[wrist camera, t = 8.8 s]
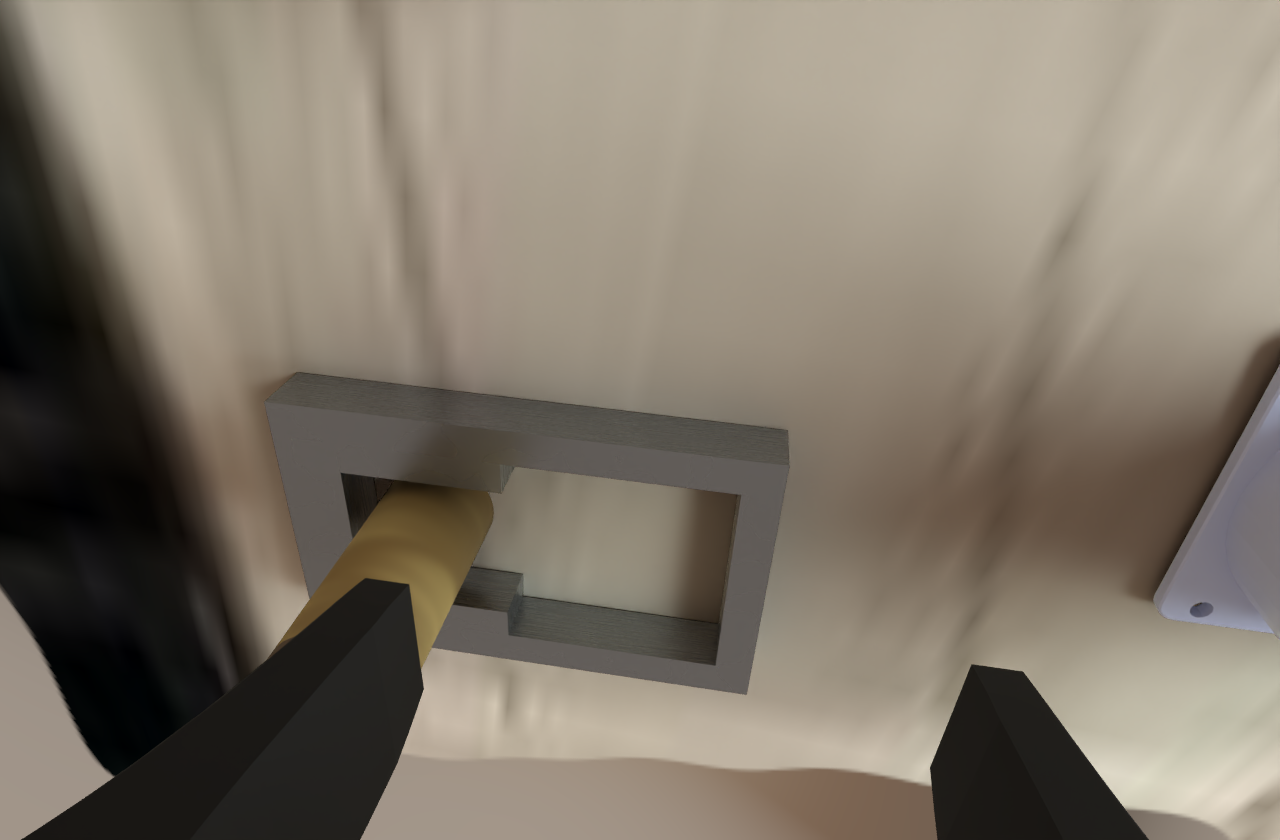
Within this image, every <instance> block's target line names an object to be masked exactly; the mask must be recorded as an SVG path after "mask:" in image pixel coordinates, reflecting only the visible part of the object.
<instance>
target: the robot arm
mask: <svg viewBox="0 0 1280 840" xmlns="http://www.w3.org/2000/svg"><path fill="white" fill-rule="evenodd" d="M1153 602H1154V604H1155V607H1156V608H1157V610H1158V612H1159V613H1160V614H1161V615H1162V616H1163V617H1164V618H1167V619H1171V620H1177V621H1184V622H1192V623H1199V624H1207V625H1214V626H1221V627H1229V628H1236V629H1244V630H1251V631H1259V632H1266V633H1273V634H1275V635H1276V636H1277V638H1278V639H1279V640H1280V365H1279V367H1278V369H1277V371H1276V372H1275V374H1274V376H1273V378H1272V380H1271V382H1270V384H1269V385H1268V387H1267V389H1266V391H1265V393H1264V395H1263V396H1262V398H1261V400H1260V402H1259V404H1258V406H1257V407H1256V409H1255V411H1254V413H1253V415H1252V417H1251V418H1250V420H1249V422H1248V424H1247V426H1246V428H1245V429H1244V431H1243V433H1242V435H1241V437H1240V439H1239V440H1238V442H1237V444H1236V446H1235V448H1234V450H1233V452H1232V453H1231V455H1230V457H1229V459H1228V461H1227V463H1226V464H1225V466H1224V468H1223V470H1222V472H1221V474H1220V475H1219V477H1218V479H1217V481H1216V483H1215V485H1214V486H1213V488H1212V490H1211V492H1210V494H1209V496H1208V497H1207V499H1206V501H1205V503H1204V505H1203V507H1202V508H1201V510H1200V512H1199V514H1198V516H1197V518H1196V520H1195V521H1194V523H1193V525H1192V527H1191V529H1190V531H1189V532H1188V534H1187V536H1186V538H1185V540H1184V542H1183V543H1182V545H1181V547H1180V549H1179V551H1178V553H1177V554H1176V556H1175V558H1174V560H1173V562H1172V564H1171V565H1170V567H1169V569H1168V571H1167V573H1166V575H1165V576H1164V578H1163V580H1162V582H1161V584H1160V586H1159V588H1158V589H1157V591H1156V593H1155V595H1154V599H1153ZM1201 602H1203V603H1202V604H1200V605H1198V606H1193V605H1195V604H1198V603H1201ZM423 690H424V687H423V680H422V673H421V665H420V658H419V651H418V644H417V636H416V629H415V622H414V615H413V607H412V600H411V593H410V586H409V584H405V583H398V582H391V581H384V580H377V579H370V578H365V579H363V580H362V581H361V582H359V583H358V584H357V585H355V586H354V587H353V588H352V589H351V590H349V591H348V592H347V593H346V594H345V595H343V596H342V597H341V598H340V599H339V600H337V601H336V602H335V603H334V604H333V605H332V606H330V607H329V608H328V609H327V610H326V611H325V612H323V613H322V614H321V615H320V616H319V617H317V618H316V619H315V620H314V621H313V622H312V623H310V624H309V625H308V626H307V627H306V628H305V629H303V630H302V631H301V632H300V633H299V634H297V635H296V636H295V637H294V638H293V639H292V640H290V641H289V642H288V643H287V644H286V645H284V646H283V647H282V648H281V649H280V650H278V651H277V652H276V653H275V654H274V655H272V656H271V657H270V658H269V659H268V660H266V661H265V662H264V663H263V664H261V665H260V666H259V667H258V668H257V669H255V670H254V671H253V672H252V673H250V674H249V675H248V676H247V677H245V678H244V679H243V680H242V681H241V682H239V683H238V684H237V685H236V686H234V687H233V688H232V689H231V690H229V691H228V692H227V693H226V694H224V695H223V696H222V697H221V698H220V699H218V700H217V701H216V702H214V703H213V704H212V705H211V706H209V707H208V708H207V709H206V710H204V711H203V712H202V713H200V714H199V715H198V716H196V717H195V718H194V719H192V720H191V721H190V722H188V723H187V724H186V725H184V726H183V727H182V728H180V729H179V730H178V731H176V732H175V733H174V734H172V735H171V736H170V737H168V738H167V739H166V740H164V741H163V742H162V743H160V744H159V745H158V746H156V747H155V748H154V749H152V750H151V751H150V752H148V753H147V754H146V755H144V756H143V757H142V758H141V759H139V760H138V761H136V762H135V763H134V764H132V765H131V766H129V767H128V768H127V769H125V770H124V771H122V772H121V773H120V774H118V775H117V776H115V777H114V778H113V779H111V780H110V781H108V782H107V783H105V784H104V785H103V786H101V787H100V788H98V789H97V790H95V791H94V792H93V793H91V794H90V795H88V796H87V797H85V798H84V799H82V800H81V801H79V802H78V803H76V804H75V805H73V806H72V807H70V808H69V809H67V810H66V811H64V812H63V813H61V814H60V815H58V816H57V817H55V818H54V819H52V820H51V821H49V822H48V823H46V824H45V825H43V826H42V827H40V828H39V829H37V830H36V831H34V832H32V833H31V834H29V835H28V836H26V837H25V838H23V839H21V840H360V839H361V836H362V835H363V833H364V831H365V829H366V827H367V825H368V823H369V821H370V819H371V817H372V815H373V813H374V811H375V808H376V806H377V804H378V802H379V800H380V798H381V796H382V794H383V792H384V790H385V788H386V786H387V784H388V782H389V780H390V777H391V775H392V773H393V771H394V769H395V767H396V765H397V763H398V760H399V757H400V755H401V752H402V749H403V746H404V744H405V741H406V738H407V736H408V733H409V730H410V727H411V725H412V722H413V719H414V716H415V713H416V710H417V707H418V704H419V701H420V699H421V696H422V693H423ZM930 772H931V782H932V791H933V803H934V812H935V821H936V830H937V838H938V840H1149V839H1148V838H1147V837H1146V835H1145V834H1144V833H1143V832H1142V830H1141V829H1140V828H1139V826H1138V825H1137V824H1136V823H1135V822H1134V820H1133V819H1132V818H1131V816H1130V815H1129V814H1128V812H1127V811H1126V810H1125V808H1124V807H1123V806H1122V804H1121V803H1120V802H1119V800H1118V799H1117V798H1116V797H1115V795H1114V794H1113V793H1112V791H1111V790H1110V789H1109V787H1108V786H1107V785H1106V783H1105V782H1104V781H1103V779H1102V778H1101V777H1100V775H1099V774H1098V772H1097V771H1096V770H1095V768H1094V767H1093V766H1092V764H1091V763H1090V762H1089V760H1088V759H1087V758H1086V756H1085V755H1084V754H1083V752H1082V751H1081V750H1080V748H1079V747H1078V745H1077V744H1076V743H1075V741H1074V740H1073V739H1072V737H1071V736H1070V735H1069V733H1068V732H1067V730H1066V729H1065V728H1064V726H1063V725H1062V724H1061V722H1060V721H1059V720H1058V718H1057V717H1056V715H1055V714H1054V713H1053V711H1052V710H1051V709H1050V707H1049V706H1048V705H1047V703H1046V702H1045V700H1044V699H1043V698H1042V696H1041V695H1040V694H1039V692H1038V691H1037V690H1036V688H1035V687H1034V686H1033V684H1032V683H1031V682H1030V680H1029V679H1028V678H1027V676H1026V675H1025V674H1024V672H1022V671H1015V670H1008V669H1001V668H994V667H986V666H979V665H971V667H970V670H969V672H968V675H967V677H966V680H965V682H964V685H963V687H962V690H961V692H960V695H959V697H958V700H957V702H956V705H955V707H954V710H953V712H952V715H951V717H950V720H949V722H948V725H947V727H946V730H945V732H944V735H943V737H942V740H941V742H940V744H939V747H938V749H937V752H936V754H935V757H934V759H933V762H932V764H931V767H930Z"/></svg>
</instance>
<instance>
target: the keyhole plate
mask: <svg viewBox="0 0 1280 840" xmlns="http://www.w3.org/2000/svg"><path fill="white" fill-rule="evenodd" d="M264 404H265V408H266V413H267V417H268V421H269V425H270V430H271V434H272V438H273V443H274V447H275V451H276V456H277V460H278V464H279V469H280V473H281V477H282V482H283V486H284V490H285V495H286V499H287V503H288V507H289V512H290V516H291V520H292V525H293V529H294V533H295V538H296V542H297V546H298V551H299V555H300V559H301V564H302V568H303V572H304V577H305V581H306V585H307V590H308V594H309V598H310V599H311V597H312V596H313V594H314V593H315V592H316V590H317V589H318V587H319V586H320V585H321V583H322V582H323V580H324V579H325V578H326V576H327V575H328V573H329V572H330V570H331V569H332V568H333V566H334V565H335V563H336V562H337V561H338V559H339V558H340V556H341V555H342V554H343V552H344V551H345V549H346V548H347V547H348V545H349V544H350V542H351V541H352V540H353V538H354V537H355V535H356V534H357V533H358V531H359V530H360V528H361V527H362V526H363V524H364V523H365V521H366V520H367V519H368V517H369V516H370V514H371V513H372V512H373V510H374V509H375V507H376V506H377V505H378V504H377V498H376V491H375V485H374V478H373V477H378V478H386V479H393V480H401V481H409V482H416V483H424V484H432V485H439V486H447V487H455V488H463V489H470V490H478V491H486V492H493V493H502V491H503V489H504V487H505V485H506V483H507V481H508V479H509V477H510V475H511V473H512V471H513V469H514V467H515V466H516V467H524V468H532V469H540V470H548V471H556V472H564V473H572V474H579V475H587V476H595V477H603V478H611V479H619V480H627V481H635V482H643V483H651V484H659V485H667V486H674V487H682V488H690V489H698V490H706V491H714V492H722V493H730V494H738V496H737V503H736V510H735V516H734V523H733V530H732V537H731V543H730V550H729V557H728V564H727V570H726V577H725V584H724V591H723V597H722V604H721V611H720V618H719V624H714V623H707V622H700V621H693V620H686V619H679V618H672V617H665V616H658V615H651V614H644V613H637V612H630V611H623V610H616V609H609V608H602V607H594V606H587V605H580V604H573V603H566V602H559V601H552V600H545V599H538V598H531V597H524V596H523V574H516V573H509V572H502V571H495V570H487V569H480V568H473V567H470V569H469V571H468V573H467V576H466V578H465V580H464V582H463V584H462V586H461V588H460V590H459V592H458V594H457V596H456V598H455V600H454V602H453V604H452V606H451V608H450V611H449V613H448V615H447V617H446V619H445V621H444V623H443V625H442V627H441V629H440V631H439V633H438V635H437V637H436V639H435V641H434V643H433V646H432V648H438V649H445V650H452V651H458V652H465V653H472V654H478V655H485V656H492V657H498V658H505V659H512V660H518V661H525V662H532V663H538V664H545V665H551V666H558V667H565V668H571V669H578V670H585V671H591V672H598V673H605V674H611V675H618V676H625V677H631V678H638V679H645V680H651V681H658V682H665V683H671V684H678V685H685V686H691V687H698V688H705V689H711V690H718V691H725V692H731V693H738V694H745V695H747V690H748V685H749V679H750V674H751V669H752V663H753V658H754V653H755V647H756V642H757V637H758V631H759V626H760V621H761V615H762V610H763V605H764V599H765V594H766V589H767V583H768V578H769V573H770V567H771V562H772V556H773V551H774V546H775V540H776V535H777V530H778V524H779V519H780V514H781V508H782V503H783V498H784V492H785V487H786V482H787V476H788V471H789V446H788V430H780V429H772V428H763V427H755V426H746V425H738V424H729V423H721V422H712V421H704V420H695V419H687V418H679V417H670V416H662V415H653V414H645V413H636V412H628V411H619V410H611V409H602V408H594V407H585V406H577V405H568V404H560V403H551V402H543V401H534V400H526V399H517V398H509V397H500V396H492V395H484V394H475V393H467V392H458V391H450V390H441V389H433V388H424V387H416V386H407V385H399V384H390V383H382V382H373V381H365V380H356V379H348V378H339V377H331V376H322V375H314V374H306V373H296V374H295V375H294V376H293V377H292V378H291V379H289V380H288V381H287V382H286V383H285V384H284V385H283V386H281V387H280V388H279V389H278V390H277V391H276V392H275V393H273V394H272V395H271V396H270V397H269V398H268V399H267V400H265V401H264Z"/></svg>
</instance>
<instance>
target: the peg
mask: <svg viewBox="0 0 1280 840" xmlns="http://www.w3.org/2000/svg"><path fill="white" fill-rule="evenodd" d="M493 515H494V511H493V504H492V501H491V498H490V496H489V494H488V492H486V491H478V490H470V489H463V488H455V487H447V486H439V485H432V484H424V483H416V482H409V481H401V480H395V481H394V482H393V483H392V485H391V486H390V488H389V489H388V490H387V492H386V493H385V495H384V496H383V498H382V499H381V500H380V502H379V503H378V505H377V506H376V507H375V509H374V510H373V512H372V513H371V514H370V516H369V517H368V519H367V520H366V521H365V523H364V524H363V526H362V527H361V528H360V530H359V531H358V533H357V534H356V535H355V537H354V538H353V540H352V541H351V542H350V544H349V545H348V547H347V548H346V549H345V551H344V552H343V554H342V555H341V556H340V558H339V559H338V561H337V562H336V563H335V565H334V566H333V568H332V569H331V570H330V572H329V573H328V575H327V576H326V578H325V579H324V580H323V582H322V583H321V585H320V586H319V587H318V589H317V590H316V592H315V593H314V594H313V596H312V597H311V599H310V600H309V601H308V603H307V604H306V606H305V607H304V608H303V610H302V611H301V613H300V614H299V615H298V617H297V618H296V620H295V621H294V622H293V624H292V625H291V627H290V628H289V629H288V631H287V632H286V634H285V635H284V636H283V638H282V639H281V641H280V642H279V643H278V645H277V646H276V648H275V649H274V651H273V652H272V653H271V655H270V656H269V658H270V657H271V656H272V655H274V654H275V653H276V652H277V651H278V650H280V649H281V648H282V647H283V646H284V645H286V644H287V643H288V642H289V641H290V640H292V639H293V638H294V637H295V636H296V635H297V634H299V633H300V632H301V631H302V630H303V629H305V628H306V627H307V626H308V625H309V624H310V623H312V622H313V621H314V620H315V619H316V618H317V617H319V616H320V615H321V614H322V613H323V612H325V611H326V610H327V609H328V608H329V607H330V606H332V605H333V604H334V603H335V602H336V601H337V600H339V599H340V598H341V597H342V596H343V595H345V594H346V593H347V592H348V591H349V590H351V589H352V588H353V587H354V586H355V585H357V584H358V583H359V582H361V581H362V580H363V579H365V578H370V579H377V580H384V581H391V582H398V583H405V584H409V586H410V593H411V600H412V607H413V615H414V622H415V629H416V636H417V644H418V651H419V658H420V665H421V668H422V666H423V664H424V662H425V660H426V658H427V656H428V654H429V652H430V650H431V648H432V646H433V643H434V641H435V639H436V637H437V635H438V633H439V631H440V629H441V627H442V625H443V623H444V621H445V619H446V617H447V615H448V613H449V611H450V608H451V606H452V604H453V602H454V600H455V598H456V596H457V594H458V592H459V590H460V588H461V586H462V584H463V582H464V580H465V578H466V576H467V573H468V571H469V569H470V567H471V565H472V563H473V561H474V559H475V557H476V555H477V553H478V551H479V549H480V547H481V545H482V543H483V541H484V538H485V536H486V534H487V532H488V530H489V528H490V526H491V524H492V521H493ZM269 658H268V659H269ZM268 659H267V660H268Z"/></svg>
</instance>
